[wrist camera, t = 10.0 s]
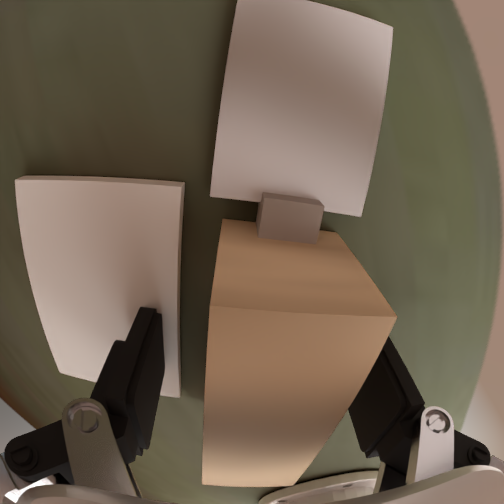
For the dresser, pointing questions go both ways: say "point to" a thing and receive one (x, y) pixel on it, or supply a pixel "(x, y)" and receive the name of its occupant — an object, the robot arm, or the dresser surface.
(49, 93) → the dresser surface
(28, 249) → the felt pad
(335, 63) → the turner
